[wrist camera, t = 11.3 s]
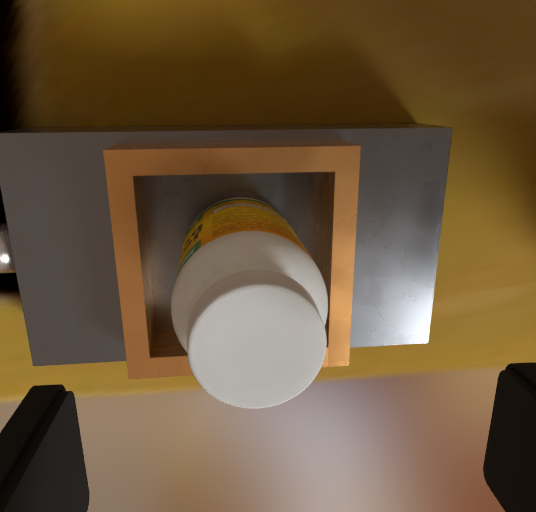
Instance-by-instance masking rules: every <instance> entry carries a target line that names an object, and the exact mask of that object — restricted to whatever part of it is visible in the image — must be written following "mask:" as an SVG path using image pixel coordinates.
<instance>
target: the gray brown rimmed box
mask: <svg viewBox="0 0 536 512" xmlns="http://www.w3.org/2000/svg"><path fill="white" fill-rule="evenodd" d="M451 136H452V128H451V127H443V126H435V125H427V124H419V123H392V124H304V125H216V126H127V127H39V128H21V129H15V130H9V131H3V132H0V187H1V192H2V198H3V203H4V209H5V214H6V220H7V223H0V273H16V274H17V280H18V285H19V291H20V296H21V302H22V307H23V313H24V318H25V324H26V329H27V335H28V340H29V346H30V351H31V357H32V362H33V366H45V365H62V364H79V363H96V362H113V361H127V368H128V377H129V379H141V378H157V377H173V376H189V375H193V372H192V370H191V368H190V365H189V362H188V355H187V352H186V351H185V349H184V348H183V346H182V345H181V343H180V341H179V339H178V337H177V335H176V332H175V329H174V326H173V321H172V315H171V296H172V292H173V288H174V283H175V278H176V274H177V269H178V265H179V261H180V256H181V252H182V247H183V243H184V239H185V236H186V233H187V231H188V229H189V227H190V225H191V224H192V222H193V221H194V220H195V219H196V217H197V216H198V215H199V214H201V213H202V212H203V211H204V210H205V209H207V208H208V207H210V206H211V205H213V204H215V203H217V202H220V201H222V200H225V199H229V198H235V197H243V198H252V199H256V200H259V201H262V202H264V203H266V204H268V205H270V206H272V207H273V208H274V209H276V210H277V211H278V212H279V213H280V214H281V215H282V216H283V217H284V218H285V219H286V220H287V222H288V223H289V224H290V226H291V227H292V229H293V231H294V232H295V234H296V235H297V237H298V238H299V240H300V241H301V243H302V244H303V246H304V247H305V249H306V250H307V252H308V253H309V255H310V256H311V258H312V259H313V260H314V262H315V263H316V265H317V267H318V269H319V271H320V273H321V275H322V277H323V280H324V283H325V286H326V291H327V296H328V313H327V320H326V324H325V330H326V338H327V346H326V353H325V358H324V361H323V364H322V366H321V367H332V366H348V365H349V352H350V347H367V346H384V345H401V344H417V343H428V340H429V331H430V322H431V313H432V304H433V296H434V287H435V278H436V269H437V260H438V251H439V242H440V233H441V225H442V216H443V207H444V198H445V189H446V180H447V171H448V162H449V154H450V145H451Z"/></svg>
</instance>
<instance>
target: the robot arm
mask: <svg viewBox="0 0 536 512" xmlns="http://www.w3.org/2000/svg"><path fill="white" fill-rule="evenodd" d="M483 471H484V477H485V480H486V483H487V485H488V486H489V488H490V489H491V491H492V492H493V494H494V495H495V497H496V498H497V500H498V501H499V503H500V504H501V506H502V507H503V509H504V510H505V512H536V363H511V364H509V365H507V367H506V368H505V370H503V371H501V372H500V374H499V377H498V382H497V388H496V394H495V400H494V406H493V412H492V418H491V424H490V430H489V436H488V442H487V448H486V454H485V461H484V467H483ZM88 505H89V487H88V481H87V476H86V468H85V462H84V455H83V449H82V443H81V436H80V429H79V423H78V416H77V410H76V403H75V397H74V394H73V392H72V391H66V390H65V388H64V386H63V385H41V386H33V387H32V388H31V389H30V390H29V392H28V393H27V395H26V396H25V398H24V399H23V400H22V402H21V403H20V405H19V406H18V408H17V409H16V411H15V412H14V414H13V415H12V417H11V418H10V419H9V421H8V422H7V424H6V425H5V427H4V428H3V430H2V431H1V433H0V512H87V510H88Z"/></svg>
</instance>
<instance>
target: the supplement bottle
mask: <svg viewBox="0 0 536 512" xmlns="http://www.w3.org/2000/svg"><path fill="white" fill-rule="evenodd" d="M327 313H328V296H327V291H326V286H325V283H324V280H323V277H322V275H321V273H320V271H319V269H318V267H317V265H316V263H315V262H314V260H313V259H312V258H311V256H310V255H309V253H308V252H307V250H306V249H305V247H304V246H303V244H302V243H301V241H300V240H299V238H298V237H297V235H296V234H295V232H294V231H293V229H292V227H291V226H290V224H289V223H288V222H287V220H286V219H285V218H284V217H283V216H282V215H281V214H280V213H279V212H278V211H277V210H276V209H274V208H273V207H272V206H270V205H268V204H266V203H264V202H262V201H259V200H256V199H252V198H243V197H235V198H229V199H225V200H222V201H220V202H217V203H215V204H213V205H211V206H210V207H208V208H207V209H205V210H204V211H203V212H202V213H201V214H199V215H198V216H197V217H196V219H195V220H194V221H193V222H192V224H191V225H190V227H189V229H188V231H187V233H186V236H185V239H184V243H183V247H182V252H181V256H180V261H179V265H178V269H177V274H176V278H175V283H174V288H173V292H172V296H171V315H172V321H173V326H174V329H175V332H176V335H177V337H178V339H179V341H180V343H181V345H182V346H183V348H184V349H185V351H186V352H187V355H188V362H189V365H190V368H191V370H192V372H193V375H194V376H195V378H196V379H197V381H198V383H199V384H200V385H201V386H202V387H203V389H204V390H205V391H206V392H208V393H209V394H210V395H211V396H213V397H214V398H216V399H218V400H219V401H221V402H223V403H226V404H229V405H232V406H236V407H241V408H250V409H259V408H266V407H271V406H275V405H278V404H281V403H283V402H286V401H288V400H290V399H292V398H294V397H295V396H297V395H298V394H300V393H301V392H302V391H303V390H304V389H305V388H307V387H308V386H309V385H310V384H311V382H312V381H313V380H314V378H315V377H316V375H317V374H318V372H319V370H320V368H321V366H322V364H323V361H324V358H325V353H326V346H327V338H326V330H325V324H326V320H327Z"/></svg>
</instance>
